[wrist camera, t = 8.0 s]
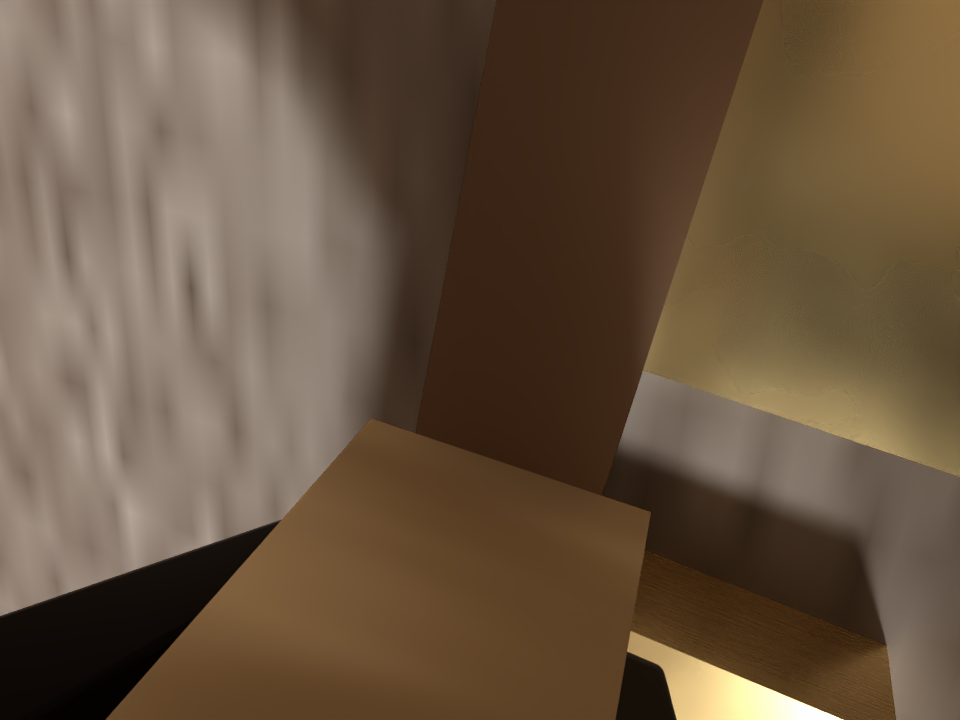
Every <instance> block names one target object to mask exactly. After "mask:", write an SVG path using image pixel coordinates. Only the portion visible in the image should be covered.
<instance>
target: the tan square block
mask: <svg viewBox="0 0 960 720" xmlns="http://www.w3.org/2000/svg"><path fill="white" fill-rule="evenodd" d="M627 652H630V653H632V654H635V655H637V656H639V657H641V658H644V659H646V660H648V661H651V662H653V663H655V664H658V665H659V666H660V667H661V668H662V669H663V671H664V673H665V676H666V680H667V684H668V687H669V691H670V695H671V699H672V702H673V706H674V710H675V714H676V717H677V720H896V715H895V707H894V699H893V691H892V683H891V676H890V668H889V660H888V652H887V646H886V645H884V644H881V643H879V642H876V641H874V640H871V639H869V638H866V637H863V636H861V635H858V634H856V633H853V632H851V631H848V630H846V629H843V628H841V627H838V626H836V625H833V624H831V623H828V622H826V621H823V620H821V619H818V618H815V617H813V616H810V615H808V614H805V613H803V612H800V611H798V610H795V609H793V608H790V607H788V606H785V605H783V604H780V603H778V602H775V601H773V600H770V599H768V598H765V597H762V596H760V595H757V594H755V593H752V592H750V591H747V590H745V589H742V588H740V587H737V586H735V585H732V584H730V583H727V582H725V581H722V580H720V579H717V578H715V577H712V576H709V575H707V574H704V573H702V572H699V571H697V570H694V569H692V568H689V567H687V566H684V565H682V564H679V563H677V562H674V561H672V560H669V559H667V558H664V557H661V556H659V555H656V554H654V553H651V552H649V551H646V550H644V556H643V562H642V568H641V574H640V579H639V585H638V591H637V597H636V603H635V608H634V614H633V620H632V626H631V632H630V638H629V643H628V649H627Z"/></svg>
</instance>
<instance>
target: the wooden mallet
mask: <svg viewBox="0 0 960 720" xmlns="http://www.w3.org/2000/svg"><path fill="white" fill-rule="evenodd" d="M762 3H763V0H497V2H496V8H495V13H494V18H493V24H492V29H491V34H490V40H489V45H488V50H487V56H486V61H485V66H484V72H483V77H482V82H481V88H480V93H479V98H478V103H477V109H476V114H475V119H474V125H473V130H472V135H471V141H470V146H469V151H468V157H467V162H466V167H465V173H464V178H463V183H462V189H461V194H460V199H459V205H458V210H457V215H456V220H455V226H454V231H453V236H452V242H451V247H450V252H449V258H448V263H447V268H446V274H445V279H444V284H443V290H442V295H441V300H440V306H439V311H438V316H437V322H436V327H435V332H434V338H433V343H432V348H431V353H430V359H429V364H428V369H427V375H426V380H425V385H424V391H423V396H422V401H421V407H420V412H419V417H418V423H417V428H416V433H413V432H410V431H407V430H404V429H401V428H398V427H395V426H392V425H389V424H386V423H383V422H380V421H377V420H374V419H370V420H369V422H368V423H367V424H366V425H365V426H364V427H363V428H362V430H361V431H360V432H359V433H358V434H357V435H356V436H355V437H354V439H353V440H352V441H351V442H350V443H349V444H348V445H347V447H346V448H345V449H344V450H343V451H342V452H341V453H340V454H339V456H338V457H337V458H336V459H335V460H334V461H333V462H332V464H331V465H330V466H329V467H328V468H327V469H326V470H325V471H324V473H323V474H322V475H321V476H320V477H319V478H318V479H317V481H316V482H315V483H314V484H313V485H312V486H311V487H310V488H309V490H308V491H307V492H306V493H305V494H304V495H303V496H302V498H301V499H300V500H299V501H298V502H297V503H296V504H295V505H294V507H293V508H292V509H291V510H290V511H289V512H288V513H287V515H286V516H285V517H284V518H283V519H282V520H281V521H280V522H279V524H278V525H277V526H276V527H275V528H274V529H273V530H272V532H271V533H270V534H269V535H268V536H267V537H266V538H265V539H264V541H263V542H262V543H261V544H260V545H259V546H258V547H257V549H256V550H255V551H254V552H253V553H252V554H251V555H250V557H249V558H248V559H247V560H246V561H245V562H244V563H243V564H242V566H241V567H240V568H239V569H238V570H237V571H236V572H235V574H234V575H233V576H232V577H231V578H230V579H229V580H228V581H227V583H226V584H225V585H224V586H223V587H222V588H221V589H220V591H219V592H218V593H217V594H216V595H215V596H214V597H213V598H212V600H211V601H210V602H209V603H208V604H207V605H206V606H205V608H204V609H203V610H202V611H201V612H200V613H199V614H198V615H197V617H196V618H195V619H194V620H193V621H192V622H191V623H190V625H189V626H188V627H187V628H186V629H185V630H184V631H183V632H182V634H181V635H180V636H179V637H178V638H177V639H176V640H175V642H174V643H173V644H172V645H171V646H170V647H169V648H168V649H167V651H166V652H165V653H164V654H163V655H162V656H161V657H160V659H159V660H158V661H157V662H156V663H155V664H154V665H153V666H152V668H151V669H150V670H149V671H148V672H147V673H146V674H145V676H144V677H143V678H142V679H141V680H140V681H139V682H138V683H137V685H136V686H135V687H134V688H133V689H132V690H131V691H130V693H129V694H128V695H127V696H126V697H125V698H124V699H123V700H122V702H121V703H120V704H119V705H118V706H117V707H116V708H115V710H114V711H113V712H112V713H111V714H110V715H109V716H108V717H107V719H106V720H615V719H616V713H617V708H618V702H619V696H620V690H621V684H622V678H623V673H624V667H625V661H626V655H627V649H628V643H629V638H630V632H631V626H632V620H633V614H634V608H635V603H636V597H637V591H638V585H639V579H640V574H641V568H642V562H643V556H644V550H645V544H646V539H647V533H648V527H649V521H650V515H651V512H649V511H646V510H643V509H640V508H637V507H634V506H631V505H628V504H625V503H622V502H619V501H616V500H613V499H610V498H607V497H604V496H602V494H603V491H604V488H605V485H606V482H607V479H608V476H609V472H610V469H611V466H612V463H613V460H614V457H615V454H616V451H617V448H618V445H619V442H620V439H621V436H622V433H623V430H624V427H625V423H626V420H627V417H628V414H629V411H630V408H631V405H632V402H633V399H634V396H635V393H636V390H637V387H638V384H639V381H640V377H641V374H642V371H643V368H644V365H645V362H646V359H647V356H648V353H649V350H650V347H651V344H652V341H653V338H654V335H655V331H656V328H657V325H658V322H659V319H660V316H661V313H662V310H663V307H664V304H665V301H666V298H667V295H668V292H669V289H670V285H671V282H672V279H673V276H674V273H675V270H676V267H677V264H678V261H679V258H680V255H681V252H682V249H683V246H684V243H685V239H686V236H687V233H688V230H689V227H690V224H691V221H692V218H693V215H694V212H695V209H696V206H697V203H698V200H699V197H700V193H701V190H702V187H703V184H704V181H705V178H706V175H707V172H708V169H709V166H710V163H711V160H712V157H713V154H714V151H715V148H716V144H717V141H718V138H719V135H720V132H721V129H722V126H723V123H724V120H725V117H726V114H727V111H728V108H729V105H730V102H731V98H732V95H733V92H734V89H735V86H736V83H737V80H738V77H739V74H740V71H741V68H742V65H743V62H744V59H745V56H746V52H747V49H748V46H749V43H750V40H751V37H752V34H753V31H754V28H755V25H756V22H757V19H758V16H759V13H760V10H761V6H762Z"/></svg>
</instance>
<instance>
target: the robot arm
mask: <svg viewBox="0 0 960 720" xmlns="http://www.w3.org/2000/svg"><path fill="white" fill-rule="evenodd" d="M280 521H281V520H279V521H276V522H273V523H270V524H267V525H264V526H261V527H259V528H256V529H253V530H250V531H247V532H244V533H241V534H238V535H235V536H232V537H229V538H227V539H224V540H221V541H218V542H215V543H212V544H209V545H206V546H203V547H200V548H197V549H194V550H192V551H189V552H186V553H183V554H180V555H177V556H174V557H171V558H168V559H165V560H162V561H160V562H157V563H154V564H151V565H148V566H145V567H142V568H139V569H136V570H133V571H130V572H127V573H125V574H122V575H119V576H116V577H113V578H110V579H107V580H104V581H101V582H98V583H95V584H92V585H90V586H87V587H84V588H81V589H78V590H75V591H72V592H69V593H66V594H63V595H60V596H58V597H55V598H52V599H49V600H46V601H43V602H40V603H37V604H34V605H31V606H28V607H25V608H23V609H20V610H17V611H14V612H11V613H8V614H5V615H2V616H0V720H106V719H107V717H108V716H109V715H110V714H111V713H112V712H113V711H114V710H115V708H116V707H117V706H118V705H119V704H120V703H121V702H122V700H123V699H124V698H125V697H126V696H127V695H128V694H129V693H130V691H131V690H132V689H133V688H134V687H135V686H136V685H137V683H138V682H139V681H140V680H141V679H142V678H143V677H144V676H145V674H146V673H147V672H148V671H149V670H150V669H151V668H152V666H153V665H154V664H155V663H156V662H157V661H158V660H159V659H160V657H161V656H162V655H163V654H164V653H165V652H166V651H167V649H168V648H169V647H170V646H171V645H172V644H173V643H174V642H175V640H176V639H177V638H178V637H179V636H180V635H181V634H182V632H183V631H184V630H185V629H186V628H187V627H188V626H189V625H190V623H191V622H192V621H193V620H194V619H195V618H196V617H197V615H198V614H199V613H200V612H201V611H202V610H203V609H204V608H205V606H206V605H207V604H208V603H209V602H210V601H211V600H212V598H213V597H214V596H215V595H216V594H217V593H218V592H219V591H220V589H221V588H222V587H223V586H224V585H225V584H226V583H227V581H228V580H229V579H230V578H231V577H232V576H233V575H234V574H235V572H236V571H237V570H238V569H239V568H240V567H241V566H242V564H243V563H244V562H245V561H246V560H247V559H248V558H249V557H250V555H251V554H252V553H253V552H254V551H255V550H256V549H257V547H258V546H259V545H260V544H261V543H262V542H263V541H264V539H265V538H266V537H267V536H268V535H269V534H270V533H271V532H272V530H273V529H274V528H275V527H276V526H277V525H278V524H279V522H280ZM615 720H677V717H676V714H675V710H674V706H673V702H672V699H671V695H670V691H669V687H668V684H667V680H666V676H665V673H664V671H663V669H662V668H661V667H660V666H659V665H658V664H655V663H653V662H651V661H648V660H646V659H644V658H641V657H639V656H637V655H635V654H632V653H630V652H627V655H626V661H625V667H624V673H623V678H622V684H621V690H620V696H619V702H618V708H617V713H616V719H615Z"/></svg>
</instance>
